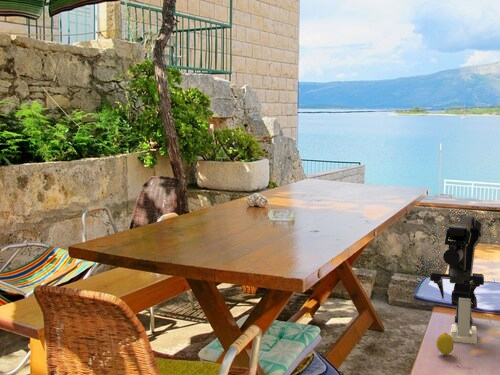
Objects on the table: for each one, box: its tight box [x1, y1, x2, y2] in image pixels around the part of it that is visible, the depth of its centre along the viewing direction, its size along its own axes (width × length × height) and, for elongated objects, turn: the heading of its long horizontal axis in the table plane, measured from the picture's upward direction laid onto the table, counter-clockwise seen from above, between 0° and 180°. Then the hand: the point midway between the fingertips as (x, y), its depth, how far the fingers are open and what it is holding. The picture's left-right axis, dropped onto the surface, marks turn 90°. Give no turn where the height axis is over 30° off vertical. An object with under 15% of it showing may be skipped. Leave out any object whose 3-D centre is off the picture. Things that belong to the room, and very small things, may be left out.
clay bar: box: [457, 298, 471, 337], centre depth 219 cm, size 4×4×13 cm
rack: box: [450, 323, 478, 345], centre depth 219 cm, size 9×9×4 cm
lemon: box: [436, 332, 455, 356], centre depth 204 cm, size 6×6×8 cm
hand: (456, 299), depth 223 cm, fingers open, 9 cm apart
